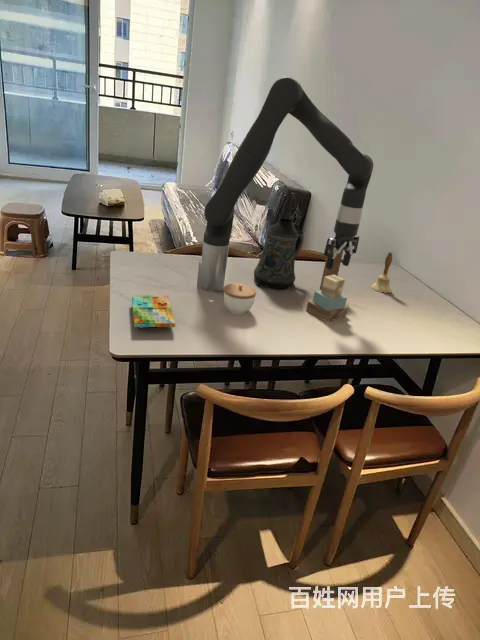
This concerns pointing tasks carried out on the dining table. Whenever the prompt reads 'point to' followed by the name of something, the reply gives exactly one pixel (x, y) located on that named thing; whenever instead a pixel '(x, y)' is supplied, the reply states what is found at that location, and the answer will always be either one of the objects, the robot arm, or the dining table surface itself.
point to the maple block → (332, 286)
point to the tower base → (325, 312)
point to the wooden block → (334, 270)
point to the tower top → (329, 301)
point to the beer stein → (279, 256)
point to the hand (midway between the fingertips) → (337, 266)
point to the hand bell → (384, 277)
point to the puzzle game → (152, 311)
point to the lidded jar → (239, 297)
